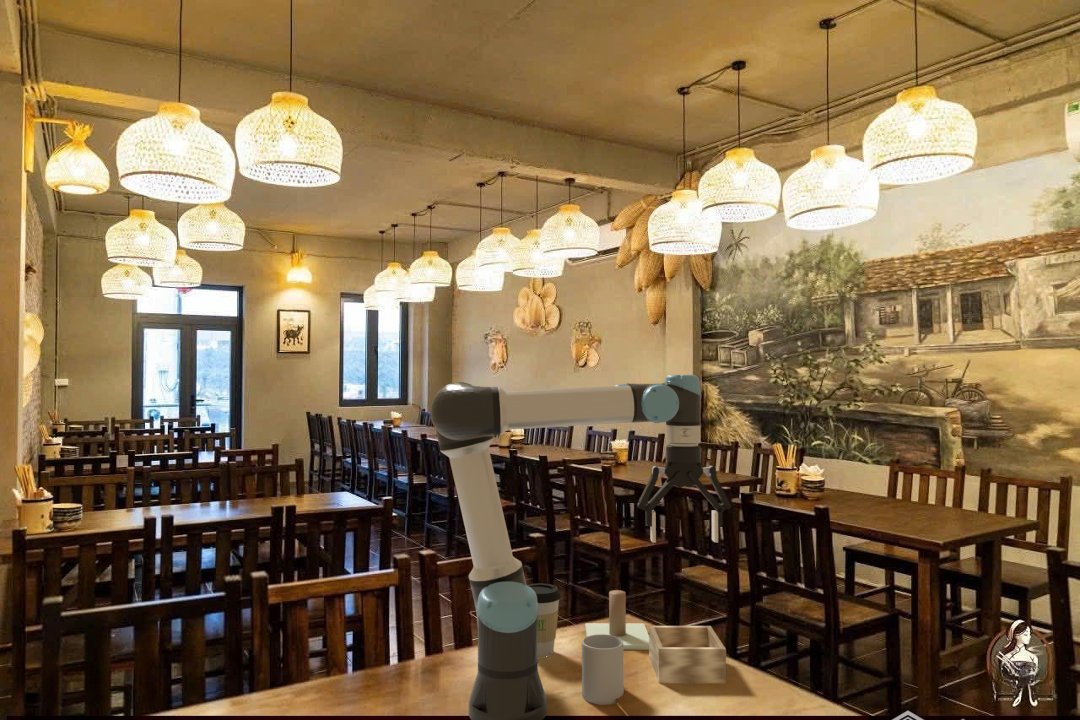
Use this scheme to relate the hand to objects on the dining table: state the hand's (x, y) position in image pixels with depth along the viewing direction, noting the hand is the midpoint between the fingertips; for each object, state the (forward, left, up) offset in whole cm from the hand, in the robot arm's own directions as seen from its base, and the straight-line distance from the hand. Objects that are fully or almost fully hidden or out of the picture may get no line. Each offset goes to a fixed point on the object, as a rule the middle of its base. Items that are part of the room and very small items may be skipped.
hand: (684, 541), depth 157 cm
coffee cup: (-32, +12, -29) cm, 45 cm away
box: (0, 0, -29) cm, 29 cm away
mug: (-19, -9, -29) cm, 36 cm away
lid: (-13, +19, -29) cm, 37 cm away
